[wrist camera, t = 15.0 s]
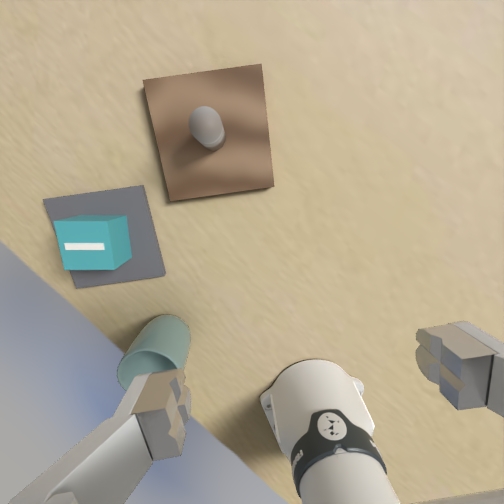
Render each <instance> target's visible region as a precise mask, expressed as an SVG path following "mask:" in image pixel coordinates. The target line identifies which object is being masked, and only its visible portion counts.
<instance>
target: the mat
mask: <svg viewBox="0 0 504 504" xmlns="http://www.w3.org/2000/svg"><path fill="white" fill-rule="evenodd" d="M43 202H44V204H45V207H46V210H47V212H48V215H49V217H50V220H51V223H52V225H53V228H54V231H55V233H56V230H55V226H54V221H57V220H61V219H66V218H70V217H75V216H79V215H126V217H127V224H128V232H129V239H130V246H131V254H132V258H130V259H129V260H128V261H126V262H125V263H123V264H122V265H121V266H119V267H118V268H116V269H115V270H70V273H71V275H72V278H73V281H74V283H75V286H76V289H77V288H84V287H91V286H98V285H105V284H112V283H119V282H126V281H133V280H140V279H147V278H154V277H161V276H165V274H166V271H165V267H164V263H163V259H162V255H161V251H160V248H159V244H158V240H157V236H156V232H155V228H154V224H153V220H152V216H151V212H150V208H149V205H148V201H147V197H146V193H145V189H144V185H141V186H134V187H127V188H120V189H113V190H105V191H98V192H91V193H84V194H77V195H70V196H63V197H56V198H49V199H43ZM56 236H57V235H56Z"/></svg>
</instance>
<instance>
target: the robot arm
mask: <svg viewBox="0 0 504 504" xmlns="http://www.w3.org/2000/svg"><path fill="white" fill-rule="evenodd" d="M416 340H417V341H418V342H419V344H420V345H419V347H418V348H417V350H416V361H417V364H418V367H419V369H420V370H421V372H422V373H423V375H424V376H425V377H426V378H427V379H428V380H429V381H431V382H433V383H436V384H438V385H439V390H440V393H441V394H442V395H443V396H444V397H445V398H446V399H447V400H448V401H449V402H450V403H451V404H452V405H453V406H454V407H455V408H456V409H457V410H464V409H471V408H479V407H486V406H487V408H488V409H490V410H492V411H493V412H495V413H497V414H499V415H501V416H502V417H504V343H503V342H501V341H500V340H498V339H496V338H495V337H493V336H491V335H490V334H488V333H486V332H485V331H483V330H481V329H480V328H478V327H476V326H475V325H473V324H471V323H470V322H466V321H459V322H454V323H449V324H446V325H440V326H434V327H428V328H422V329H418V331H417V333H416ZM185 378H186V377H185V374H184V371H183V369H181V368H179V369H172V370H165V371H157V372H152V373H145V374H138V375H137V376H136V377H134V379H133V381H132V383H131V384H130V386H129V388H128V390H127V392H126V394H125V395H124V397H123V399H122V400H121V402H120V404H119V406H118V408H117V410H116V411H115V413H114V415H113V417H112V418H109V419H106V420H105V421H104V422H102V423H101V424H100V425H99V426H98V427H96V428H95V429H94V430H93V431H92V432H91V433H89V434H88V435H87V436H86V437H85V438H83V439H82V440H81V441H80V442H79V443H78V444H76V445H75V446H74V447H73V448H72V449H70V450H69V451H68V452H67V453H66V454H65V455H63V456H62V457H61V458H60V459H59V460H57V461H56V462H55V463H54V464H53V465H52V466H50V467H49V468H48V469H47V470H46V471H44V472H43V473H42V474H41V475H40V476H38V477H37V478H36V479H35V480H34V481H33V482H32V483H30V484H29V485H28V486H27V487H25V488H24V489H23V490H22V491H21V492H20V493H18V494H17V495H16V496H15V497H14V498H12V499H11V501H10V502H9V503H8V504H124V503H125V502H126V500H127V499H128V497H129V496H130V495H131V493H132V492H133V490H134V489H135V487H136V486H137V485H138V483H139V482H140V480H141V479H142V478H143V476H144V475H145V473H146V472H147V470H148V469H149V468H150V467H151V465H152V464H153V462H152V461H156V460H161V459H166V458H171V457H177V456H181V454H182V449H183V445H184V441H185V435H186V431H185V428H184V425H185V424H186V423H187V422H188V420H189V418H190V413H191V395H190V391H189V388H188V387H187V386H185V385H184V382H185ZM363 391H364V386H363V384H362V382H361V381H360V380H359V379H357V378H354V377H352V376H349V375H348V374H347V373H346V372H345V371H344V370H343V369H342V368H341V367H340V366H338V365H336V364H335V363H332V362H330V361H326V360H318V359H314V360H306V361H302V362H299V363H296V364H294V365H292V366H290V367H289V368H287V369H286V370H285V371H283V372H282V373H281V374H280V376H279V377H278V378H277V380H276V381H275V383H274V384H273V386H272V387H271V388H269V389H268V390H267V391H265V392H264V393H263V394H262V395H261V396H260V401H261V405H262V407H263V410H264V412H265V414H266V416H267V419H268V421H269V423H270V426H271V428H272V430H273V433H274V435H275V437H276V440H277V442H278V444H279V447H280V449H281V451H282V453H283V454H286V456H287V458H288V460H289V462H290V464H291V466H292V475H293V480H294V484H295V486H296V490H297V493H298V495H299V497H300V498H301V500H302V504H401V503H400V501H399V499H398V497H397V495H396V493H395V491H394V489H393V487H392V485H391V484H390V482H389V480H388V478H387V471H386V467H385V464H384V462H383V460H382V456H381V454H380V452H379V450H378V448H377V446H376V445H375V444H374V442H373V440H372V438H371V437H372V435H373V429H374V428H375V427H374V423H373V421H372V418H371V416H370V414H369V412H368V410H367V408H366V406H365V404H364V402H363V400H362V395H363ZM411 504H504V488H503V489H496V490H490V491H484V492H478V493H472V494H466V495H460V496H454V497H447V498H441V499H435V500H429V501H423V502H417V503H411Z"/></svg>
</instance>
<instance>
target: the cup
mask: <svg viewBox="0 0 504 504" xmlns="http://www.w3.org/2000/svg"><path fill="white" fill-rule="evenodd" d="M190 342H191V334H190V329H189V327H188V325H187V324H186V323H185V322H184V321H183V320H182V319H180V318H179V317H177V316H174V315H168V314H167V315H160V316H158V317H156V318H154V319H152V320H151V321H150V322H149V323H148V324H147V325H146V326H145V327H144V328H143V329H142V330H141V332H140V333H139V334H138V335H137V337H136V338H135V339H134V341H133V342H132V344H131V345H130V347H129V348H128V350H127V351H126V353H125V355H124V356H123V358H122V360H121V362H120V364H119V366H118V370H117V378H118V382H119V383H120V385H121V386H122V388H123V389H124V390H125V391H127V390H128V388H129V386H130V384H131V383H132V381H133V379H134V377H136V376H137V375H138V374H145V373H152V372H157V371H165V370H172V369H179V368H181V369H183V371H184V368H185V365H186V361H187V358H188V354H189V349H190Z"/></svg>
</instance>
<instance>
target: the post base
mask: <svg viewBox="0 0 504 504" xmlns="http://www.w3.org/2000/svg"><path fill="white" fill-rule="evenodd" d="M143 84H144V88H145V93H146V97H147V101H148V106H149V110H150V115H151V119H152V123H153V128H154V132H155V136H156V141H157V145H158V149H159V154H160V158H161V163H162V167H163V171H164V176H165V180H166V184H167V189H168V193H169V198H170V201H176V200H183V199H190V198H197V197H204V196H211V195H218V194H225V193H232V192H239V191H246V190H253V189H261V188H268V187H274V178H273V169H272V159H271V150H270V140H269V130H268V121H267V111H266V102H265V92H264V82H263V73H262V64H256V65H248V66H241V67H234V68H227V69H219V70H212V71H205V72H197V73H190V74H183V75H176V76H168V77H161V78H154V79H146V80H143Z"/></svg>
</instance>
